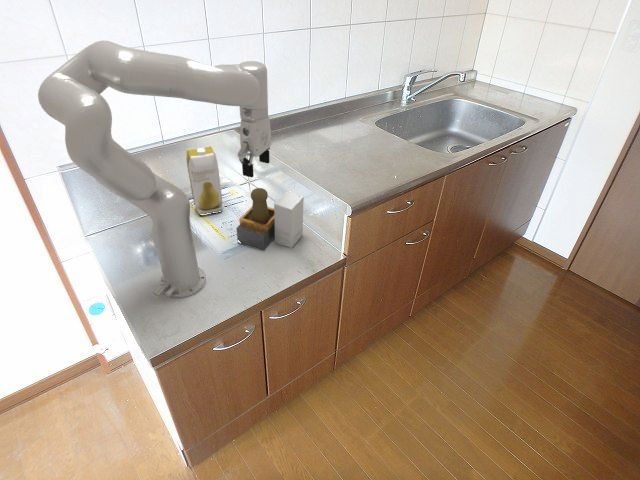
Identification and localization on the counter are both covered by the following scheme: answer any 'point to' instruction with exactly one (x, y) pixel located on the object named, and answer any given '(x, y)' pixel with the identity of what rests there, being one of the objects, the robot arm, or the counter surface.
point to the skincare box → (288, 219)
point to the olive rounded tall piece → (260, 206)
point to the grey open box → (256, 231)
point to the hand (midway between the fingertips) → (256, 169)
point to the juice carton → (204, 179)
